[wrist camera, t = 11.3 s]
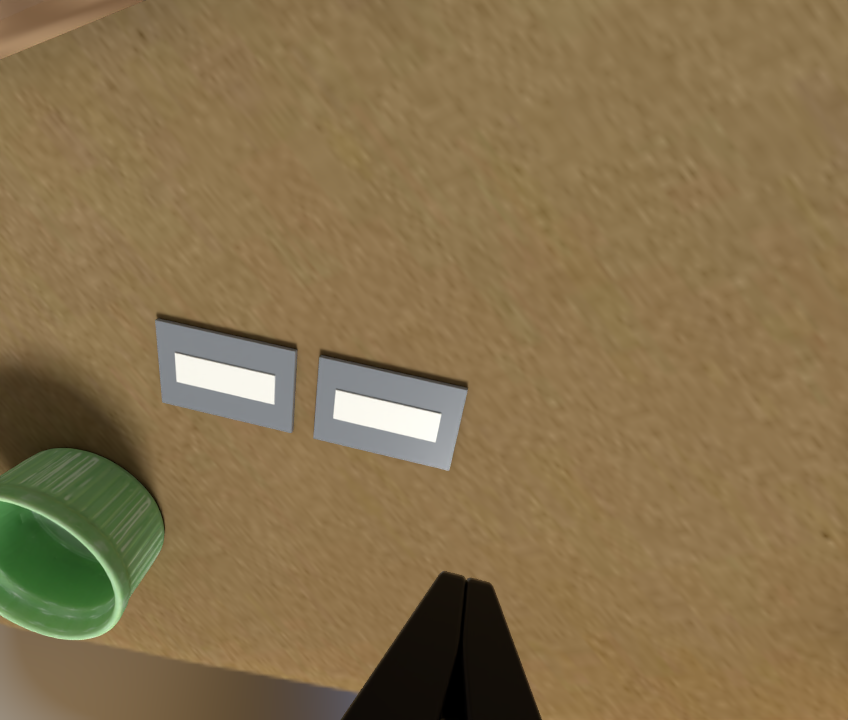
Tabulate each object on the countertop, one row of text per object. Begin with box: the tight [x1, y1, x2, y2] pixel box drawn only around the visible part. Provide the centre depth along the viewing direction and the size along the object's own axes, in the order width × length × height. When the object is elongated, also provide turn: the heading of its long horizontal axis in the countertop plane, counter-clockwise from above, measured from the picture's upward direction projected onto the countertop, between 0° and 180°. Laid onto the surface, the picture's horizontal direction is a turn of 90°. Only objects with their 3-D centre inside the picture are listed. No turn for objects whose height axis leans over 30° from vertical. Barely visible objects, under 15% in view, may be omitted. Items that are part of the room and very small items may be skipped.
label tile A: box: [314, 355, 468, 471], centre depth 22 cm, size 6×4×1 cm, turn 81°
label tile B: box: [155, 318, 297, 433], centre depth 22 cm, size 6×4×1 cm, turn 81°
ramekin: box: [0, 448, 164, 640], centre depth 26 cm, size 9×9×4 cm
